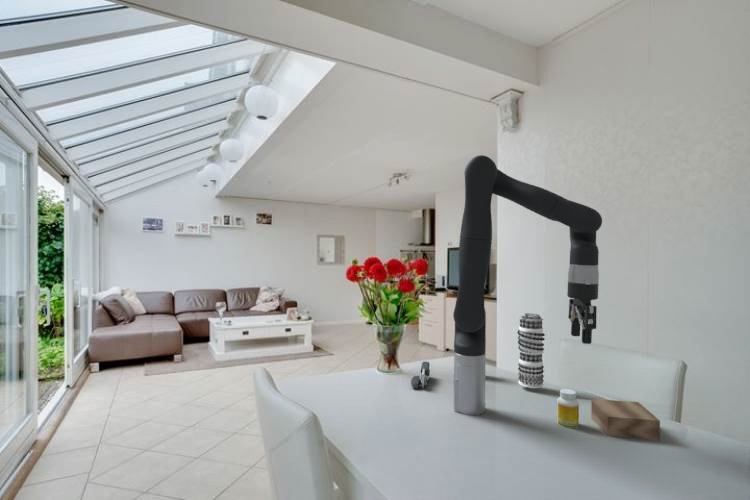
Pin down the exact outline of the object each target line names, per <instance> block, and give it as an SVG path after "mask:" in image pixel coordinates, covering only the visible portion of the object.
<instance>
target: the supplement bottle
mask: <svg viewBox="0 0 750 500" xmlns="http://www.w3.org/2000/svg"><path fill="white" fill-rule="evenodd" d="M579 408H580V403H579V401H578V400H577V392H576V391H575V390H573V389H569V388H562V389H560V390H559V396H558V398H557V400H556V423H557V425H558V426H560V427H563V428H568V429H577V428H579V427H580V426H579V425H580V424H579V416H580V414H579V411H580V410H579Z"/></svg>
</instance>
